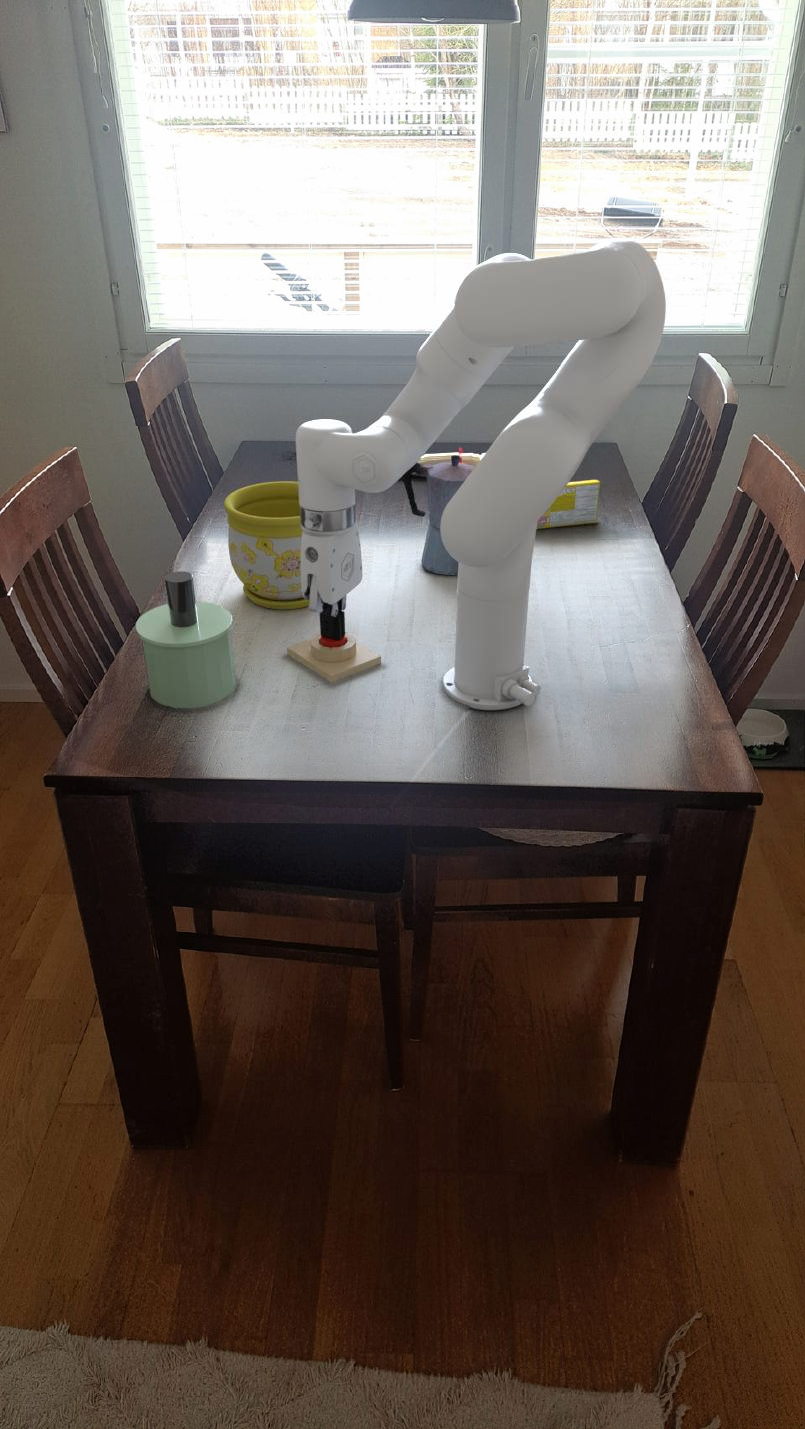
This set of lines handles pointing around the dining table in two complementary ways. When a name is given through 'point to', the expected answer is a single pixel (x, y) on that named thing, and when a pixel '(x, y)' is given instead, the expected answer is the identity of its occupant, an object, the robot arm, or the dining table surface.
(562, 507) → the candy box
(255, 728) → the dining table surface
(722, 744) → the dining table surface
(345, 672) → the switch block
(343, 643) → the button
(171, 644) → the lid
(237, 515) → the flowerpot
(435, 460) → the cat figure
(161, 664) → the mint green cup
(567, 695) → the dining table surface
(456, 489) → the moka pot
